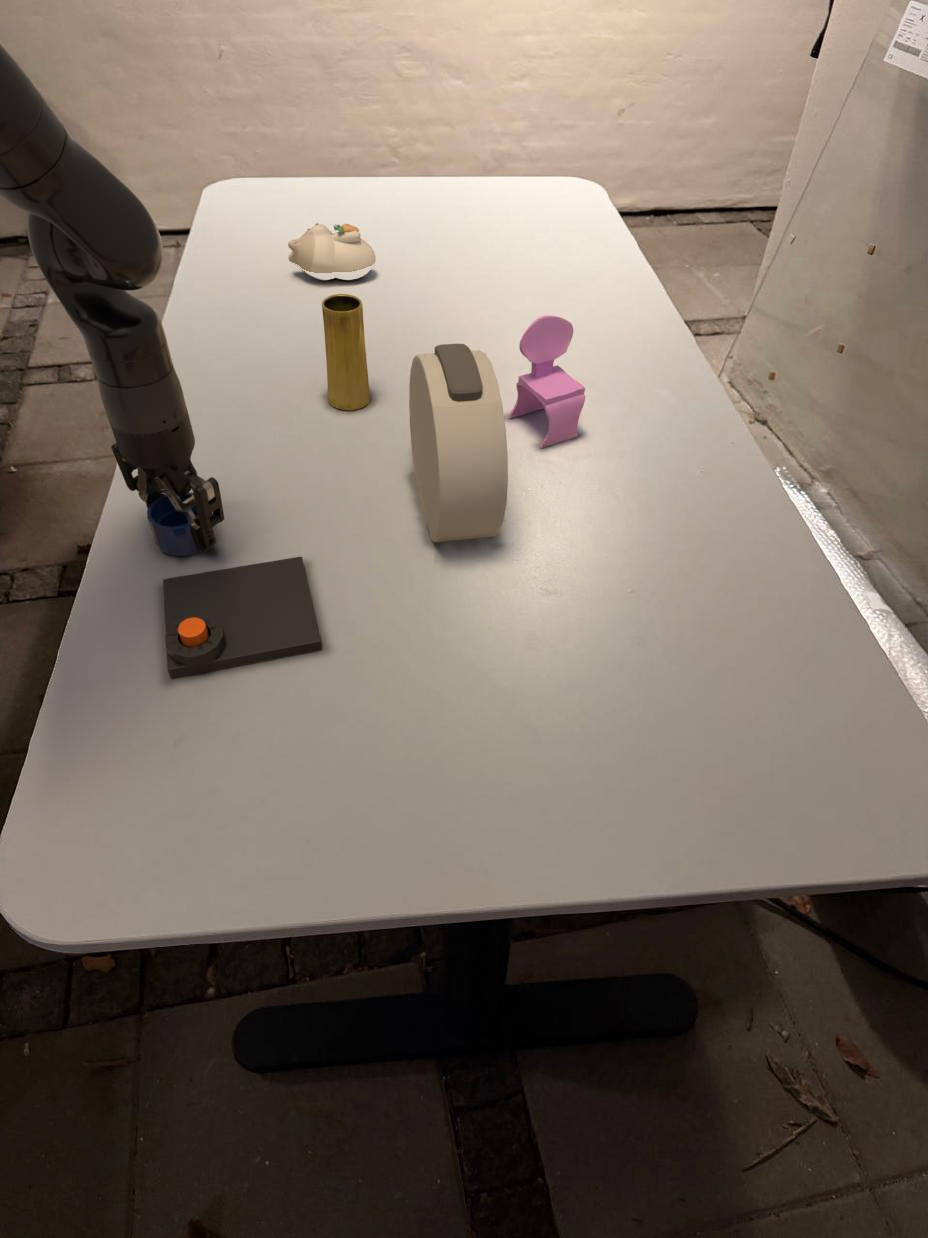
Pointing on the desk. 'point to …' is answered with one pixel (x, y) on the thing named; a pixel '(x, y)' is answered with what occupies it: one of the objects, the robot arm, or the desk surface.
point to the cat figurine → (331, 250)
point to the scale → (240, 616)
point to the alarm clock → (458, 443)
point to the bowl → (171, 527)
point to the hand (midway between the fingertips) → (184, 534)
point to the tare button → (193, 632)
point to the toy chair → (549, 379)
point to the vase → (345, 352)
